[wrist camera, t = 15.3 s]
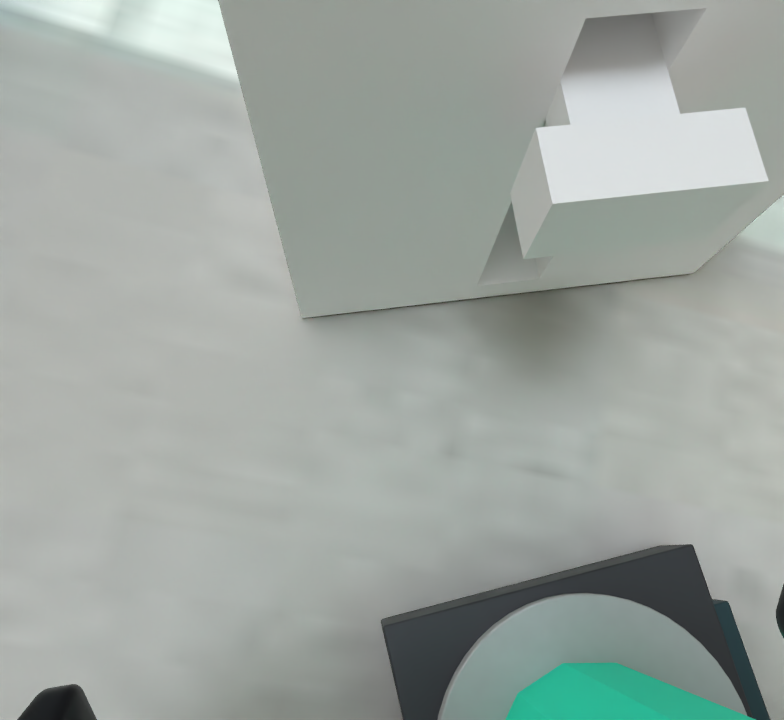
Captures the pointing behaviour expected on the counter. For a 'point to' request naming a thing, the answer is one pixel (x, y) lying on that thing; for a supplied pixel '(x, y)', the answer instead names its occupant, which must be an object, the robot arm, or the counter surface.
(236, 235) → the counter surface
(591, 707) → the candle
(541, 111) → the toaster
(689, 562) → the scale
